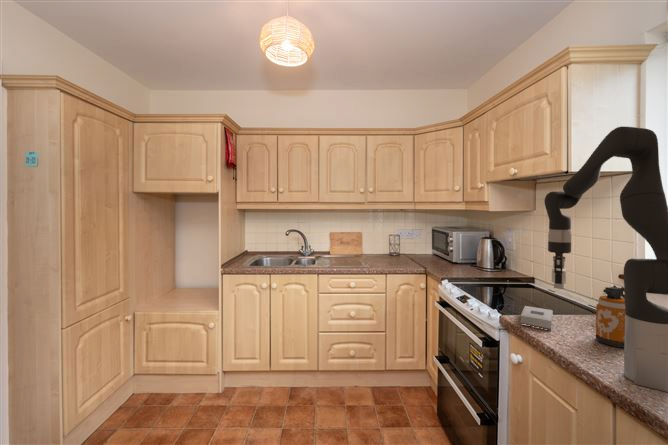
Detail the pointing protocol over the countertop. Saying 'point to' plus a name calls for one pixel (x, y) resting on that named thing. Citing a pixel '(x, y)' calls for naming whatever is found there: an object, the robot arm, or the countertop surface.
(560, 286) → the cream rectangular block
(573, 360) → the countertop surface
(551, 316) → the grey rectangular block
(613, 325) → the canister
